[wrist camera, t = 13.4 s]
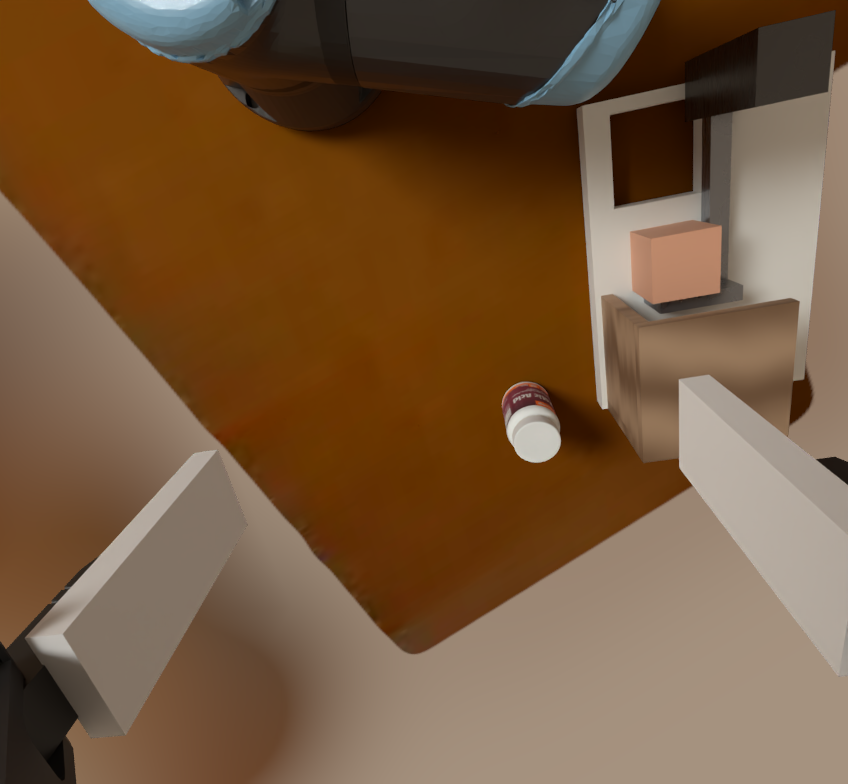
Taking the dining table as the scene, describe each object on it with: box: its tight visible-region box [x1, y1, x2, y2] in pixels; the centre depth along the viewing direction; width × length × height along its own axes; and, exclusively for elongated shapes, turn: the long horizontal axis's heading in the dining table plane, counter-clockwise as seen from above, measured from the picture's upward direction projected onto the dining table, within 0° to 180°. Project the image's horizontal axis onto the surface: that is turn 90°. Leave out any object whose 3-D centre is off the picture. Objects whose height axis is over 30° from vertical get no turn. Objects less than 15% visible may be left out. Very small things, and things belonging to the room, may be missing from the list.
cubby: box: [601, 294, 800, 463], centre depth 42 cm, size 11×10×10 cm
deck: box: [577, 51, 835, 409], centre depth 44 cm, size 26×18×2 cm
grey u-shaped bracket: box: [644, 10, 836, 314], centre depth 37 cm, size 18×8×10 cm, turn 11°
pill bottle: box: [502, 382, 561, 463], centre depth 48 cm, size 5×5×8 cm
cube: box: [630, 220, 722, 304], centre depth 41 cm, size 5×5×5 cm
